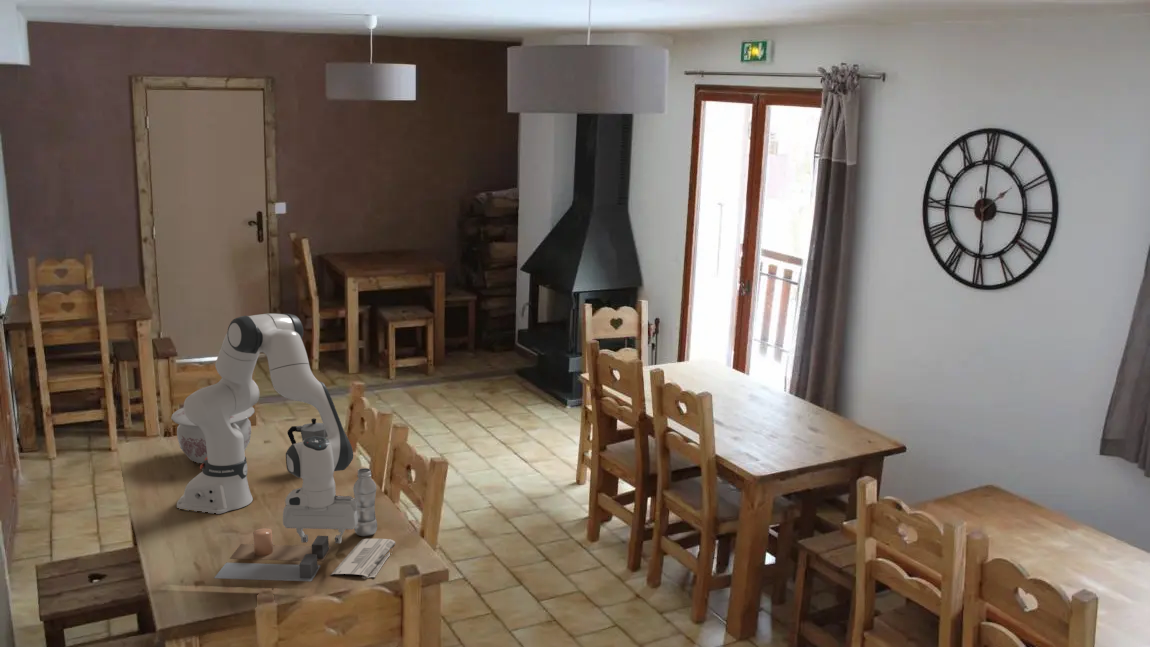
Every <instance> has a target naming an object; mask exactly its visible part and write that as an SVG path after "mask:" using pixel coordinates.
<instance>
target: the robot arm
mask: <svg viewBox="0 0 1150 647" xmlns="http://www.w3.org/2000/svg"><path fill="white" fill-rule="evenodd" d="M303 337H304V326H303V323H302V321H301V320H300V318H299V317H298V316H297V315H295V314H291V313H263V314H254V315H242V316H238V317H235V318H234V319H232V320H231V321H230V323H229V324H228V327H227V332H226V334H225V335H224V338H223V341H222V344H221V346H220V350H219V352H218V354H217V355H218V356H217V358H216V361H215V364H214V365H215V370H216V371H217V374H218V375H219V376H220V377H221V379H220V380H219V381H218V382H216V383H214V384H211V385H209V386H205V387H201V388H198V389H197V390H196V391H194V392H193V393H191V394H189V395H188V396H187V397H186V398H185V399H184V402H183V407H184V412H185V415H186V417H187V418H188V420H189V421H190V422H192V423H193V424H195V425H197V426H198V427H199V428H200V429H201V431H202V432H203V434H204V437H205V441H206V449H207V457H206V458H205V461H203V462H202V464H200V466H199V470H202V471H201V472H199V473H198V474H197V475H196V476H194V477H193V478H191V480H190V481H189V482H187V484H186V486H185V488H184V492H183V494H182V495H181V497H180V498H178V500H177V502H176V508H180V509H187V510H186V511H189V510H194V511H193V512H197V511H202V512H201V513H205V512H208V513H207V514H214V513H216V515H220V514H224V513H226V512H230V511H235V510H238V509H241V508H244V507H246V506H248V505H251V503H252V502H253V499H254V498H253V496H252V492H251V490H250V487H249V481H248V477H247V476H248V464H247V463H248V462H247V457H246V456H245V455H246V453H245V451H244V437H243V434H242V433H241V432H240V431H239V430H237V429H235V428H232V427H231V424H230V416H233V415H236V414H238V413H241V412H244V411H246V410H247V409H249V408H250V407H253V406H255V405H256V404H257V403H258V402H259V399H260V389H259V386H258V384H257V383H256V382H255V380H254V379H253V375H254V374H253V373H254V370H255V367H256V364H257V361H258V358H259V356H260V354H261V353H264V354H265V355H266V356H265V357H266V358H267V364H268V365H267V366H268V370H269V375H270V380H271V384H272V386H273V389H274V390H275V392H276V393H277V394H279V395H280V396H282V397H283V398H285V399H287V400H291V401H295V402H300V403H304V404H308V405H311V406H312V407H314V408H315V409H316V410H317V412H318V413H319V414H318V415H319V416H320V419H321V421H322V422H321V423H323V424H324V427H325V430H326V432H327V435H328V437H326V438H325V437H321V436H312V437H309V438H306V439H305V440H304V441H300V442H299V441H298V442H296V443H295V444H292V443H291V445H290V446H289V447H288V449H287V451H286V452H285V464H286V470H287V472H288V473H289V474H291V475H293V476H294V477H295V478H296V477H297V478H298V479H300V478H301V480H302V487H299V488H295V489H292V490H291V491H290V492H289V493H288V494H287V496H286V497H285V500H284V501H285V506H284V508H283V512H282V525H283V526H284V528H285V529H296V533H297V535H298V536H299V537H300V542H301V543H303V544H304V543H306V544H307V543H308V541H309V534H305V532H304V529H310V530H311V529H313V530H315V529H316V530H317V529H318V530H327V529H328V530H338V533H339V534H338V535H337V534H336V535H335V537H334V543H335V544H341V543H342V542H343V535H344V532H345V531H346V530H355V529H354V528H355V527H356V525H357V523H358V517H357V511H356V510H357V501H356V499H355V497H352V496H351V495H347V496H344V495H337V494H336V492H337V491H336V482H335V478H334V473H335V472H338V471H345V470H346V469H347V468H348V467H349V465H350V464H351V463H352V461H353V459H354V450H353V447H352V444H351V441H350V440H349V437H348V436H347V434H346V432H345V430H344V427H343V424H342V422H341V419H340V417H339V416H340V415H339V414H338V412H337V409H336V406H335V404H334V401H333V398H332V396H331V393H330V392H329V390H328V388H327V386H326V385H325V383H324V382H323V381H320V380H318V379H317V378H316V377H315V375H314V373H313V371H312V369H311V366H310V362H309V361H310V360H309V358H308V353H307V350H306V347H305V344H304V342H303ZM180 509H179V510H180Z"/></svg>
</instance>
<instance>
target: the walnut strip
mask: <svg viewBox="0 0 1150 647" xmlns="http://www.w3.org/2000/svg"><path fill="white" fill-rule="evenodd" d="M331 549H332V546H330V545H329V535H317V536H316V537H315V539H314V541H313V542H312V543H311V545H287V544H286V545H285V544H273V552H272V553H271V554H269V555H266V556H257V555H255V553H254V543H249V544H248V543H240V544H239V546H238V547H237V549H236V550H235V551H234V552H233V553H232V555H231V556H230V557H229V559H230V560H231V559H234V560H235V559H237V560H260V561H261V560H266V561H267V560H269V561H292V562H293V561H295V562H297V561H298V562H299V561H300V562H301V561H302V559H303V558H304V556H305V555H306V554H317V562H324V561H325V560H326V558H327V556H328V554H329V553H330V551H331Z"/></svg>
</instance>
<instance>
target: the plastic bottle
mask: <svg viewBox="0 0 1150 647" xmlns="http://www.w3.org/2000/svg"><path fill="white" fill-rule="evenodd" d="M357 478H358V479H356V481H355V483H354V484H353V486H352V489H353V494H354V495H353V496H354V499H356V501H357V510H356V511H357V517H358V523H357V525H356V527H355V528H354V529H353V530H354V532H355V534H356V535H357V536H360V537H370V536H373V535H374V534H375V533H376V532H377V530H378V522H377V521H378V520H377V517H376V510H375V508H376V505H375V504H376V503H375V502H376V492H377V485H376V482H375V481H374V480H373V479H372V472H371V469H370V468H366V467H365V468H364V467H363V468H359V469H358V470H357Z"/></svg>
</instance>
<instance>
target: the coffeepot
mask: <svg viewBox="0 0 1150 647" xmlns="http://www.w3.org/2000/svg"><path fill="white" fill-rule="evenodd" d="M294 432H296V433H300V435H301V440H302V441H301V442H303V441H304V440H305V439H306V438H309V437H312V436H321V437H325V438H326V437H328V435H327V432H326V430H325V427H324V424H323V422H317V418H311V422H309V423H304V424H303V425H296V426H295V425H293V426H291V427H290V428H288V430H287V436H288V438H289V440H290V442H291V445H292V444H295V443H297V441H296V439H295V435H294V434H293V433H294Z"/></svg>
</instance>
